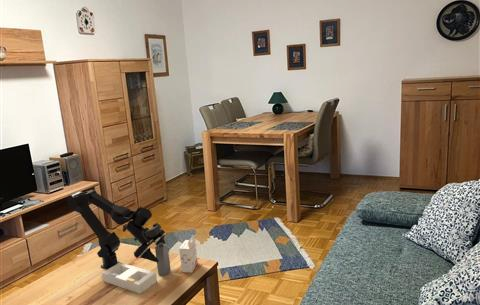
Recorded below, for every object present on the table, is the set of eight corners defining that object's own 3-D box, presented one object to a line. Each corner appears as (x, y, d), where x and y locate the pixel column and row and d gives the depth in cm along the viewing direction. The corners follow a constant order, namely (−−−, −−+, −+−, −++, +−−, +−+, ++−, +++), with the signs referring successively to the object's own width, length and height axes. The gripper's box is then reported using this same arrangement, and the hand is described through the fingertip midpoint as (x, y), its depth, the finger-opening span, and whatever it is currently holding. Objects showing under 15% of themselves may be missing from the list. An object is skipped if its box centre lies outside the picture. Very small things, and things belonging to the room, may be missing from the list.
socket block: (103, 281, 170) (101, 272, 169) (120, 270, 178) (119, 261, 177) (140, 293, 159) (138, 284, 158) (157, 281, 167) (155, 272, 166)
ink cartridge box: (187, 262, 181) (184, 233, 178) (197, 263, 180) (195, 233, 177) (181, 272, 173) (178, 242, 169) (192, 273, 172) (188, 242, 168)
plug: (158, 274, 173) (154, 245, 169) (162, 269, 176) (159, 241, 173) (166, 275, 171) (162, 246, 168) (170, 270, 175) (167, 241, 172)
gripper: (136, 229, 161) (162, 256, 160) (159, 212, 178) (183, 236, 177) (122, 245, 166) (148, 271, 165) (146, 227, 183) (169, 250, 182)
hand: (163, 256), depth 172 cm, fingers open, 9 cm apart
